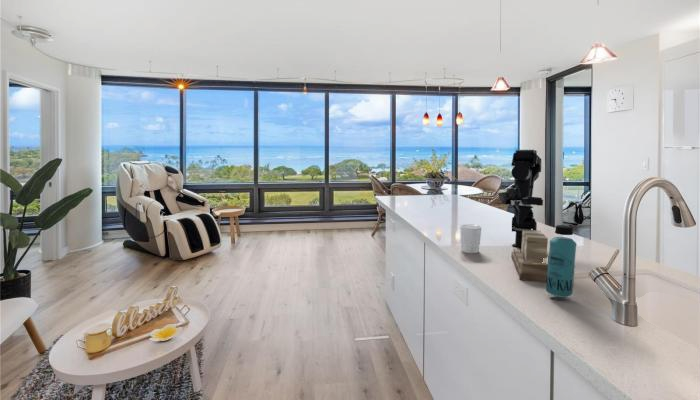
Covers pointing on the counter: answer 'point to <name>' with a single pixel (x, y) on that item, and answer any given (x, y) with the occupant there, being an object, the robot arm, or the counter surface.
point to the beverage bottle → (561, 263)
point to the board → (528, 276)
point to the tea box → (533, 246)
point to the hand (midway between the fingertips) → (519, 224)
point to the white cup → (470, 238)
